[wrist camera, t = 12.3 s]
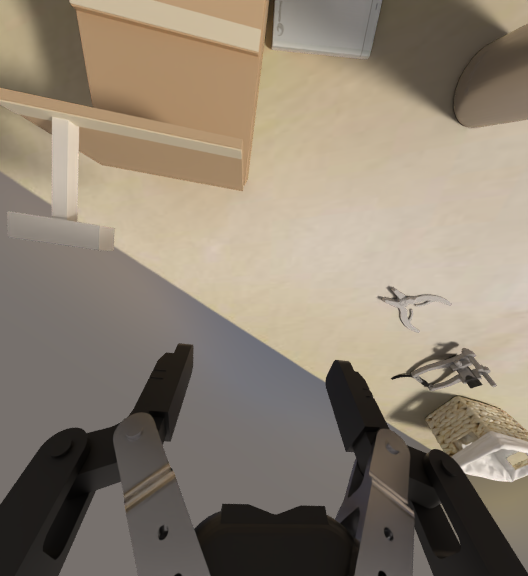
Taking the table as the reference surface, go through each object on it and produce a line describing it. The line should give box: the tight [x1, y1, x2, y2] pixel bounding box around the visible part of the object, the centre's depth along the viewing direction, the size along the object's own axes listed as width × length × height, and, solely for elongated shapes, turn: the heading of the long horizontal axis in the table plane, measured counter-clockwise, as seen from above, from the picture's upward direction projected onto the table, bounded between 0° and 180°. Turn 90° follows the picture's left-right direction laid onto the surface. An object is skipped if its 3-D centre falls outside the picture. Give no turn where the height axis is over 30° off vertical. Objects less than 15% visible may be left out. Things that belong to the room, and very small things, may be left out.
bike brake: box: [391, 348, 497, 391], centre depth 58 cm, size 14×7×20 cm
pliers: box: [382, 287, 452, 333], centre depth 48 cm, size 10×2×15 cm
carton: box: [69, 0, 269, 185], centre depth 20 cm, size 16×22×19 cm
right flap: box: [0, 88, 243, 250], centre depth 20 cm, size 16×11×9 cm
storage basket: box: [425, 396, 528, 482], centre depth 65 cm, size 24×16×15 cm
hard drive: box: [272, 0, 382, 60], centre depth 25 cm, size 2×8×12 cm
